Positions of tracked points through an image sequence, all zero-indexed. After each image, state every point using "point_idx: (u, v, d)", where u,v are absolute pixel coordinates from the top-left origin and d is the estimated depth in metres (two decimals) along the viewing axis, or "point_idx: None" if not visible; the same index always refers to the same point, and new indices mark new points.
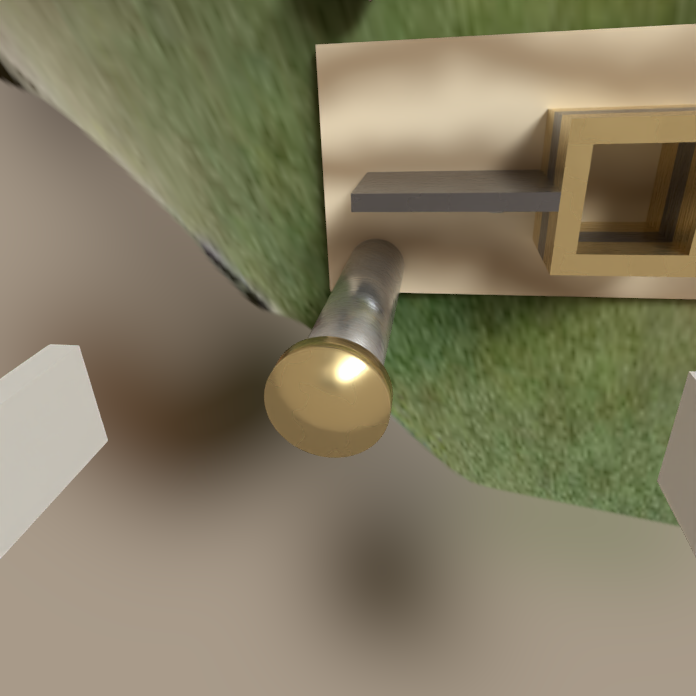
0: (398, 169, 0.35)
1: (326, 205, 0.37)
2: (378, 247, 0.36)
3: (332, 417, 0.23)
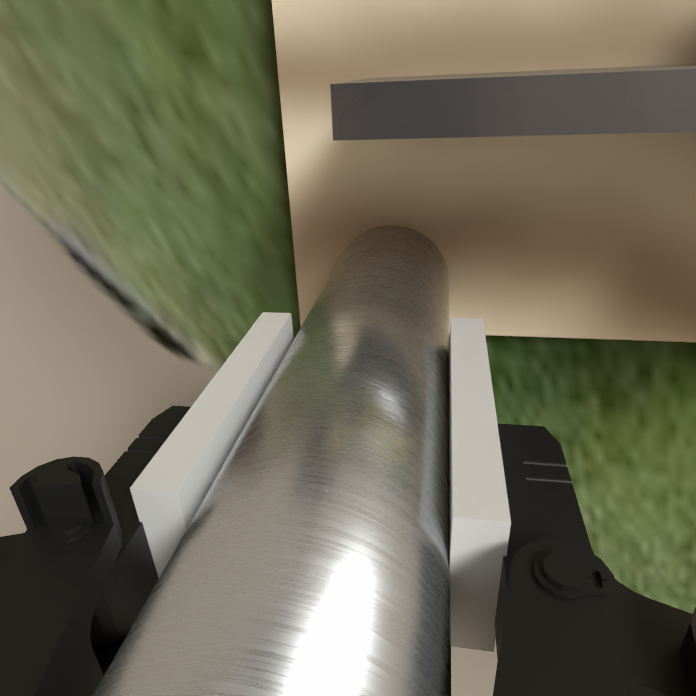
0: (442, 69, 0.16)
1: (288, 155, 0.18)
2: (398, 243, 0.16)
3: None
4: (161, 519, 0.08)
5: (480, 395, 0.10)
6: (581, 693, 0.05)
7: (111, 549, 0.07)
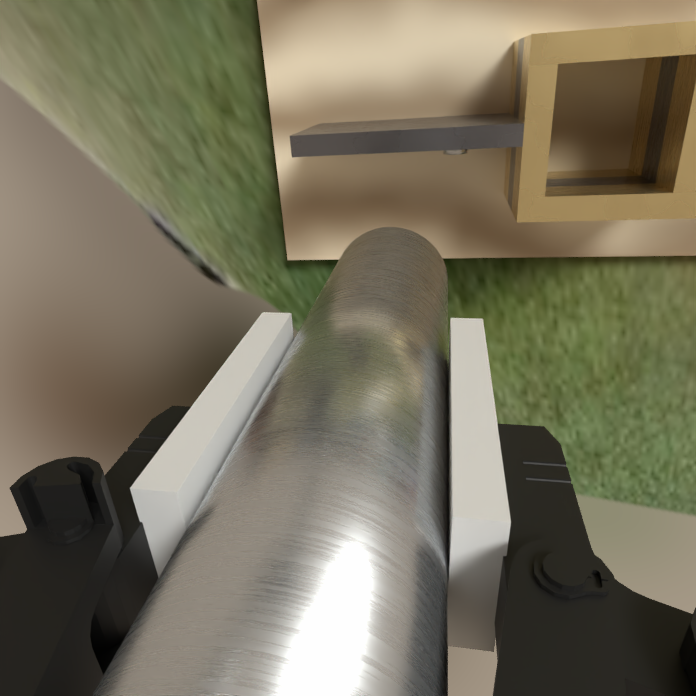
0: (352, 118, 0.32)
1: (277, 163, 0.34)
2: (397, 244, 0.16)
3: None
4: (161, 519, 0.08)
5: (480, 395, 0.10)
6: (580, 693, 0.05)
7: (111, 549, 0.07)
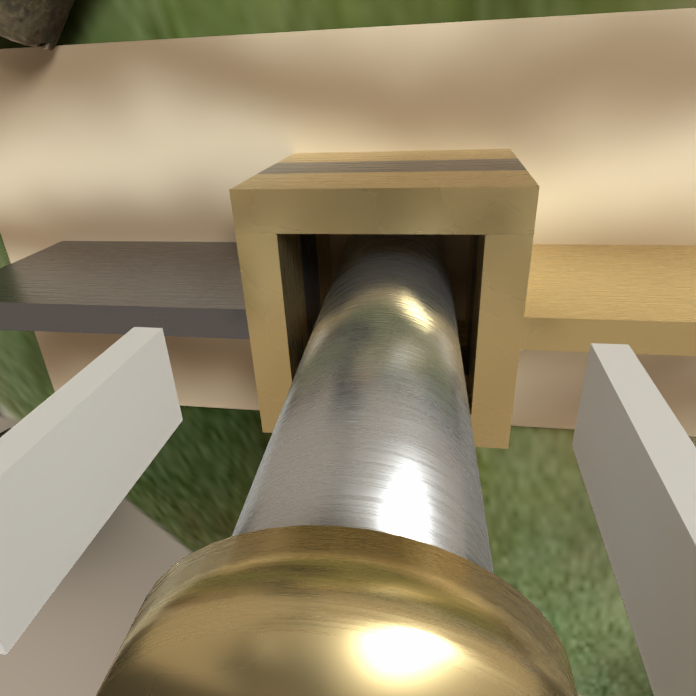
0: (102, 237, 0.24)
1: None
2: None
3: None
4: None
5: (678, 443, 0.08)
6: None
7: None
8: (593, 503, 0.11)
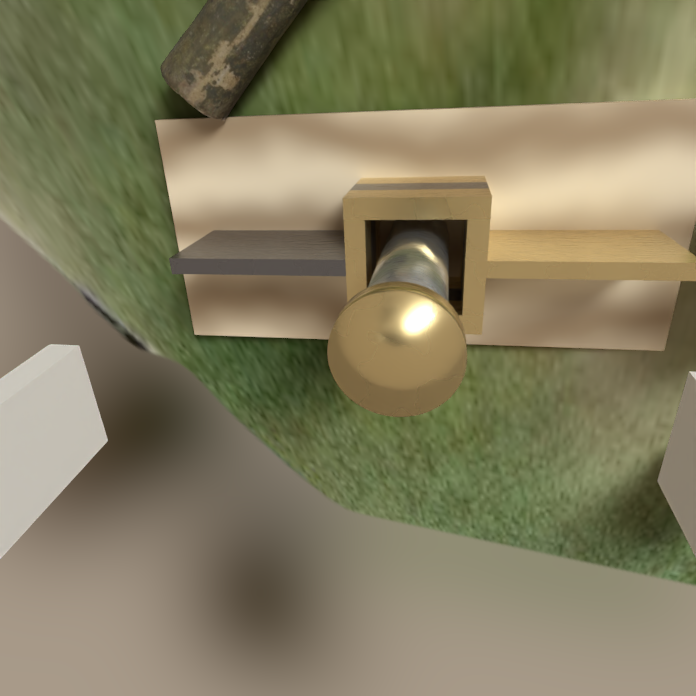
0: (239, 228, 0.39)
1: None
2: None
3: (401, 370, 0.21)
4: None
5: None
6: None
7: None
8: None
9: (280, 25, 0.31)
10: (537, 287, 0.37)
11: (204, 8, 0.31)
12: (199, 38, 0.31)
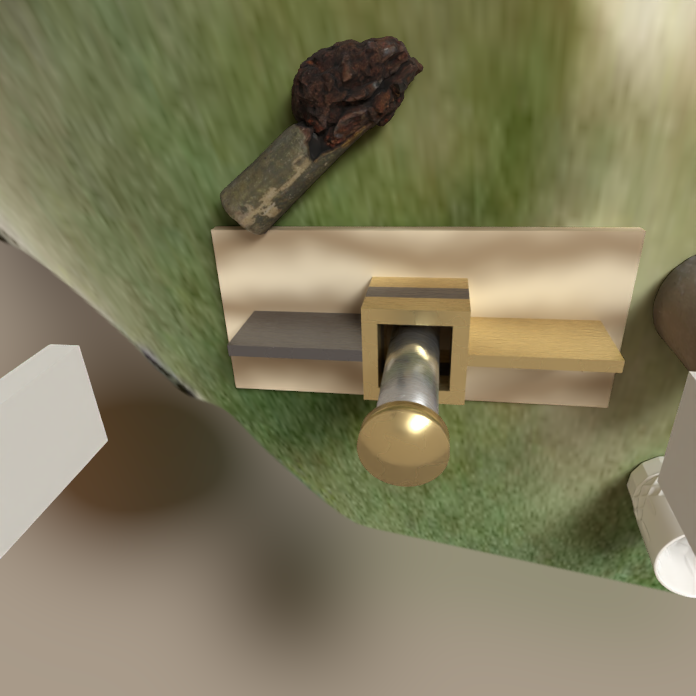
0: (275, 309, 0.49)
1: (228, 330, 0.51)
2: None
3: (406, 458, 0.32)
4: None
5: None
6: None
7: None
8: None
9: (315, 177, 0.41)
10: None
11: (258, 161, 0.41)
12: (253, 183, 0.41)
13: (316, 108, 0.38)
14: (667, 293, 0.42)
